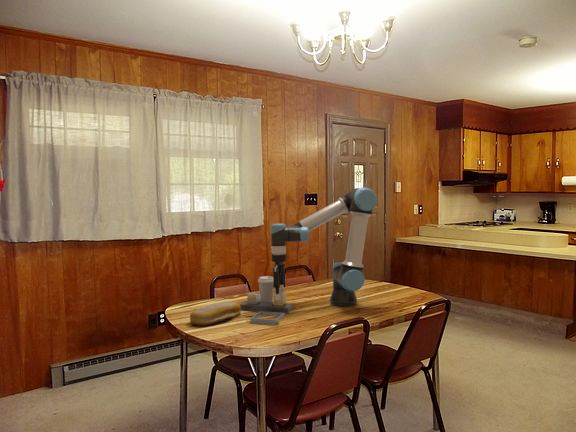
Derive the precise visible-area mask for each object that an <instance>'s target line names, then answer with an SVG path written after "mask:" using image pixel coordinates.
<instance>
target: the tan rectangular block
mask: <svg viewBox="0 0 576 432" xmlns="http://www.w3.org/2000/svg"><path fill="white" fill-rule="evenodd" d="M286 292H287V291H286V289H284V290H283V289H281V300H275V290H273V302H274V306H277V307H284V306H285V305H286V303H287V299H286V297H287V295H286Z"/></svg>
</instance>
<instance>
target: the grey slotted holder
mask: <svg viewBox="0 0 576 432" xmlns="http://www.w3.org/2000/svg"><path fill="white" fill-rule="evenodd" d="M239 305H240V306H241V309H240V310H241V311H243V312H254V313H255V312H257V313H258V312H259V311H263V312H277V313H285V315H288V314H290V313H291V312H292V311H293V303H288V302H286V305H285V306H284V307H277V306H274V301H273V302H260V304H258V305H248V304H247V300H244V301H243V302H241V303H240V304H239Z"/></svg>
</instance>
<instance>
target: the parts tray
mask: <svg viewBox="0 0 576 432" xmlns="http://www.w3.org/2000/svg"><path fill="white" fill-rule="evenodd" d="M285 315H286V314H285V313H277V312H263V311H259V312H257V313H256V314H254V315H253V316H252V317H250V324H254V325H255V324H256V325H270V326H278V325H279V324H280V321H281V320H282V319H283V318H284V317H285ZM259 316H274V317H277V318H276V319H272V318H271V319H269V318H260V317H259Z"/></svg>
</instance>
